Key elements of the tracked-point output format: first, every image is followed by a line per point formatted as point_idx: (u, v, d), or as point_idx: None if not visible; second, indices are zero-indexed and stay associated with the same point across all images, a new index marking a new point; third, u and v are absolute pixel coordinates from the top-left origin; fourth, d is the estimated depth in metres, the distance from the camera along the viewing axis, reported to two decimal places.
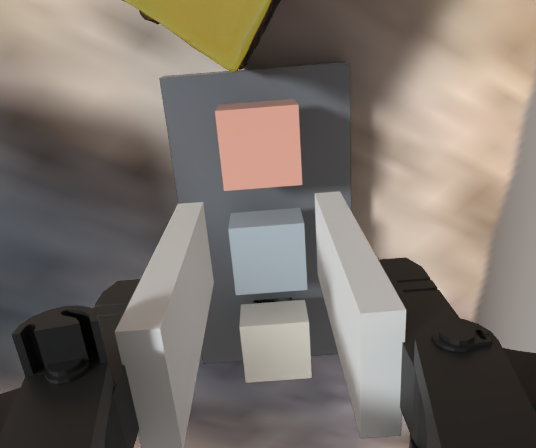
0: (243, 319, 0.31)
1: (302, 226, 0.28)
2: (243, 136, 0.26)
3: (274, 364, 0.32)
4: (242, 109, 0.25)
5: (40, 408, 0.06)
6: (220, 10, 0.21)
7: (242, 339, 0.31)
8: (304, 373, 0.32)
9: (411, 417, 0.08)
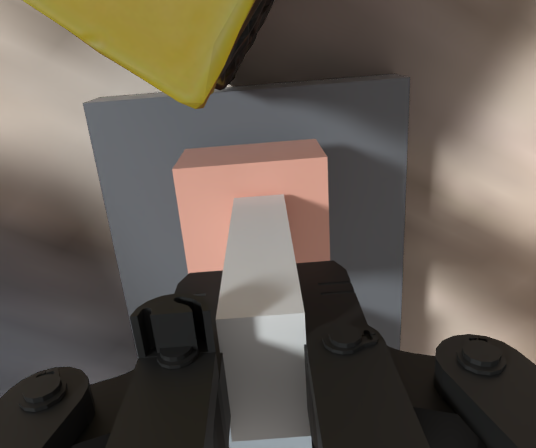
0: None
1: None
2: (226, 213, 0.14)
3: None
4: (223, 165, 0.14)
5: (154, 391, 0.06)
6: None
7: None
8: None
9: (310, 422, 0.08)
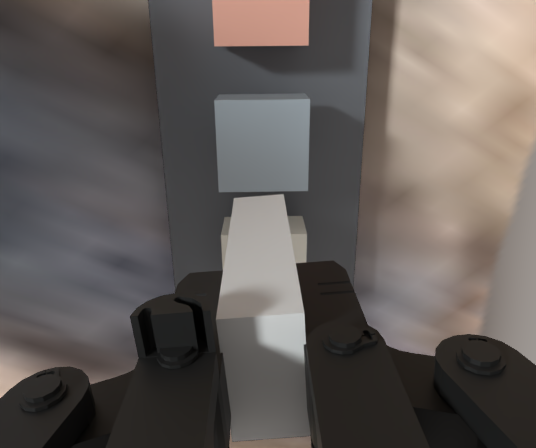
0: (226, 229, 0.25)
1: (307, 103, 0.22)
2: None
3: None
4: None
5: (154, 391, 0.06)
6: None
7: (223, 252, 0.25)
8: None
9: (310, 423, 0.08)
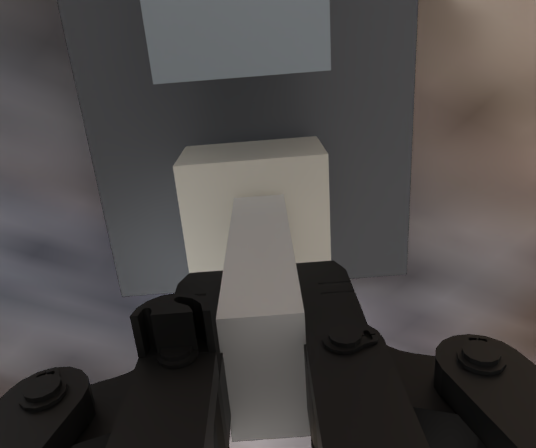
0: (185, 158, 0.14)
1: None
2: None
3: None
4: None
5: (154, 391, 0.06)
6: None
7: (181, 198, 0.14)
8: None
9: (310, 423, 0.08)
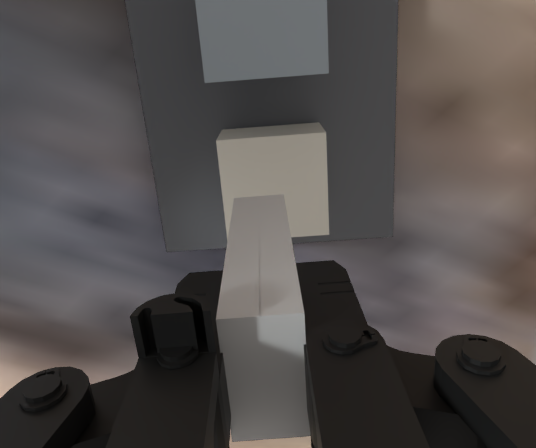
0: (223, 136, 0.20)
1: None
2: None
3: None
4: None
5: (155, 391, 0.06)
6: None
7: (221, 163, 0.20)
8: (318, 226, 0.21)
9: (310, 422, 0.08)
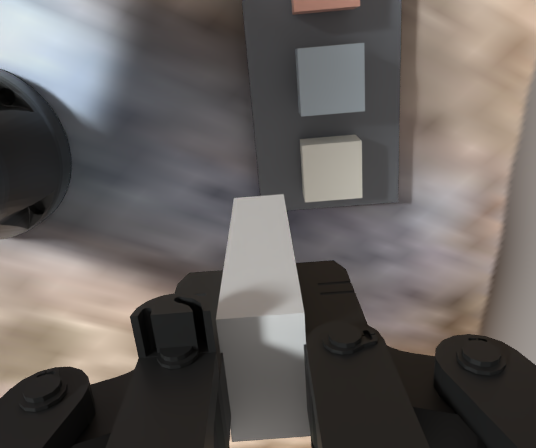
0: (304, 143, 0.36)
1: (362, 46, 0.32)
2: None
3: (330, 183, 0.37)
4: None
5: (154, 391, 0.06)
6: None
7: (303, 158, 0.36)
8: (356, 193, 0.37)
9: (310, 422, 0.08)
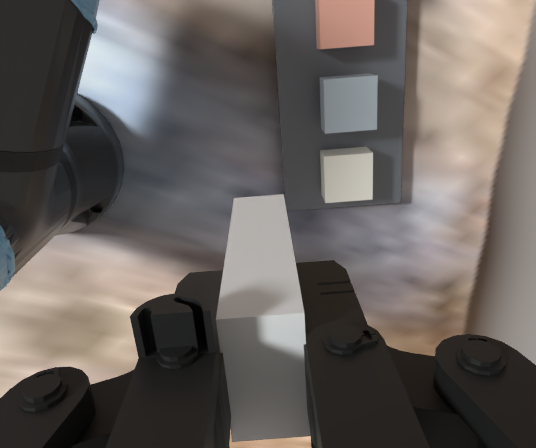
0: (325, 154, 0.44)
1: (376, 77, 0.39)
2: (336, 8, 0.39)
3: (346, 187, 0.44)
4: None
5: (154, 391, 0.06)
6: None
7: (325, 166, 0.43)
8: (367, 195, 0.45)
9: (310, 423, 0.08)
